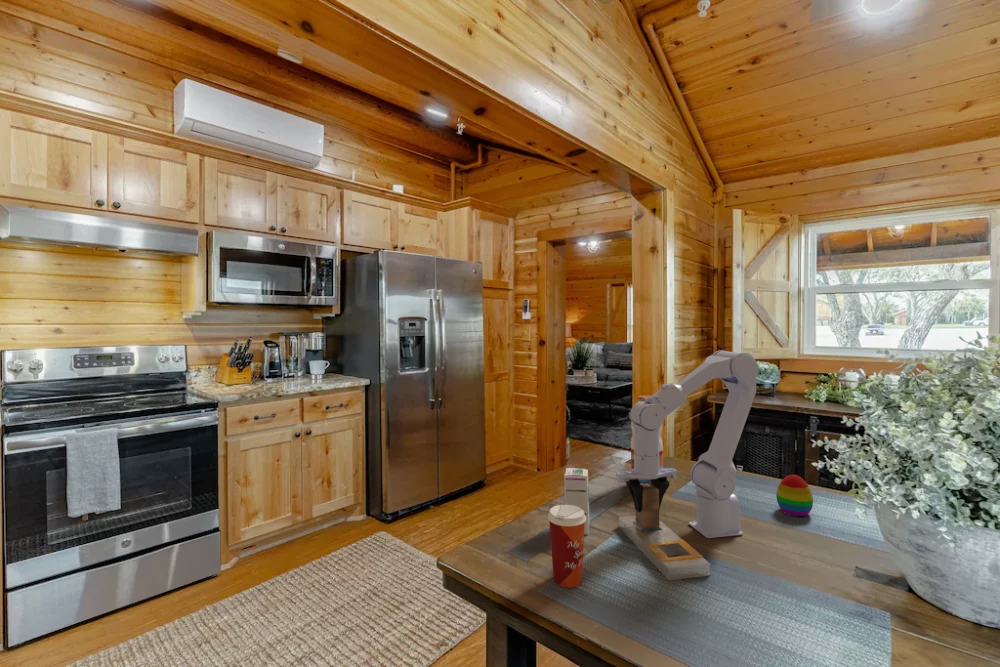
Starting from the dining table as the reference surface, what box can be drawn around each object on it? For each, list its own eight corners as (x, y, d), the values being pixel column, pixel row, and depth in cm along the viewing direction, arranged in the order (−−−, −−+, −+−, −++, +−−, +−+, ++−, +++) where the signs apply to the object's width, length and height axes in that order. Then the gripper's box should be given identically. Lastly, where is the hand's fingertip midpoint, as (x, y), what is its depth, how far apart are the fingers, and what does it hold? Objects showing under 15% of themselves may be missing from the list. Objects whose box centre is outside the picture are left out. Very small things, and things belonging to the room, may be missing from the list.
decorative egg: (799, 505, 126) (799, 469, 126) (820, 518, 118) (820, 480, 118) (769, 506, 126) (769, 470, 126) (789, 519, 118) (789, 481, 118)
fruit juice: (666, 484, 144) (665, 395, 143) (659, 494, 136) (658, 400, 135) (635, 479, 149) (634, 393, 148) (627, 489, 141) (626, 397, 140)
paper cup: (578, 595, 87) (577, 522, 87) (541, 583, 91) (540, 514, 91) (593, 575, 94) (592, 507, 94) (558, 565, 98) (557, 500, 98)
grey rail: (652, 523, 117) (652, 513, 117) (710, 575, 93) (709, 562, 93) (619, 526, 116) (618, 516, 115) (668, 580, 92) (668, 567, 92)
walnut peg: (651, 519, 112) (650, 483, 112) (659, 526, 109) (658, 489, 108) (635, 521, 112) (635, 484, 112) (643, 528, 108) (642, 490, 108)
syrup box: (589, 535, 112) (588, 475, 111) (564, 533, 113) (563, 474, 112) (589, 524, 117) (588, 468, 117) (566, 523, 118) (565, 467, 118)
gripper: (666, 446, 115) (666, 500, 115) (610, 450, 112) (611, 505, 113) (681, 454, 108) (682, 512, 108) (622, 459, 106) (623, 517, 106)
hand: (647, 509), depth 110 cm, fingers closed on walnut peg, 4 cm apart
